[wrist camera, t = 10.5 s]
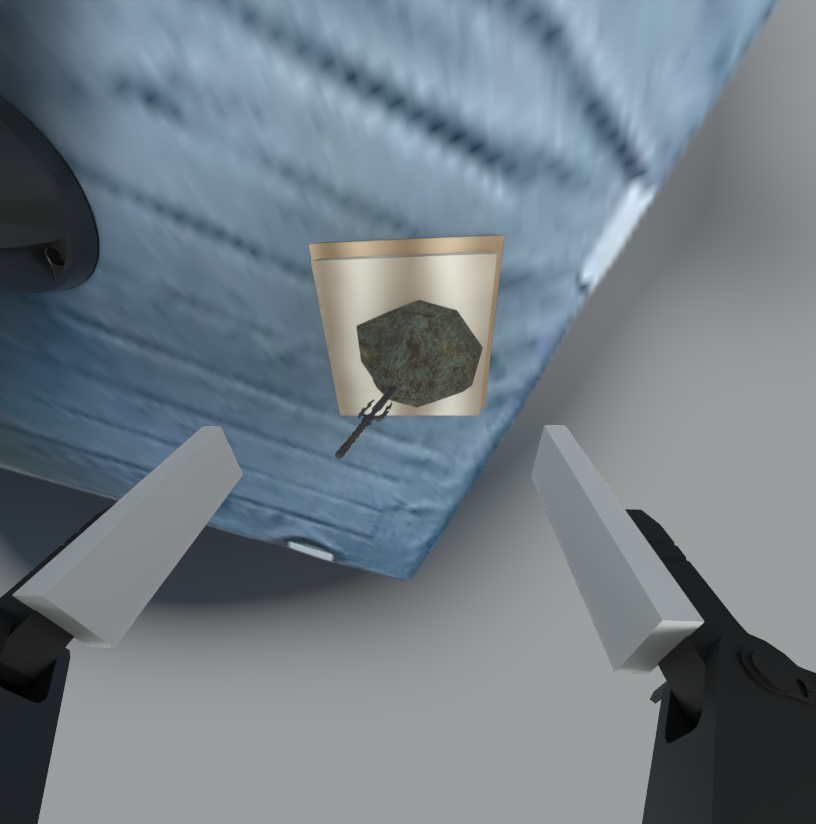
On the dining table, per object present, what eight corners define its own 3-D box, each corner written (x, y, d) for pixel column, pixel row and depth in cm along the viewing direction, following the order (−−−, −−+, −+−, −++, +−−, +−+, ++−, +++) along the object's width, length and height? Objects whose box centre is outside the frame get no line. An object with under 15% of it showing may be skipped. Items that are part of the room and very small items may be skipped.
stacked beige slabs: (347, 392, 34) (331, 424, 28) (322, 242, 26) (293, 245, 20) (479, 391, 32) (489, 424, 27) (495, 234, 25) (514, 235, 19)
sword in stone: (484, 293, 21) (535, 363, 11) (480, 388, 25) (514, 499, 16) (350, 306, 22) (286, 380, 12) (368, 395, 26) (333, 503, 17)
